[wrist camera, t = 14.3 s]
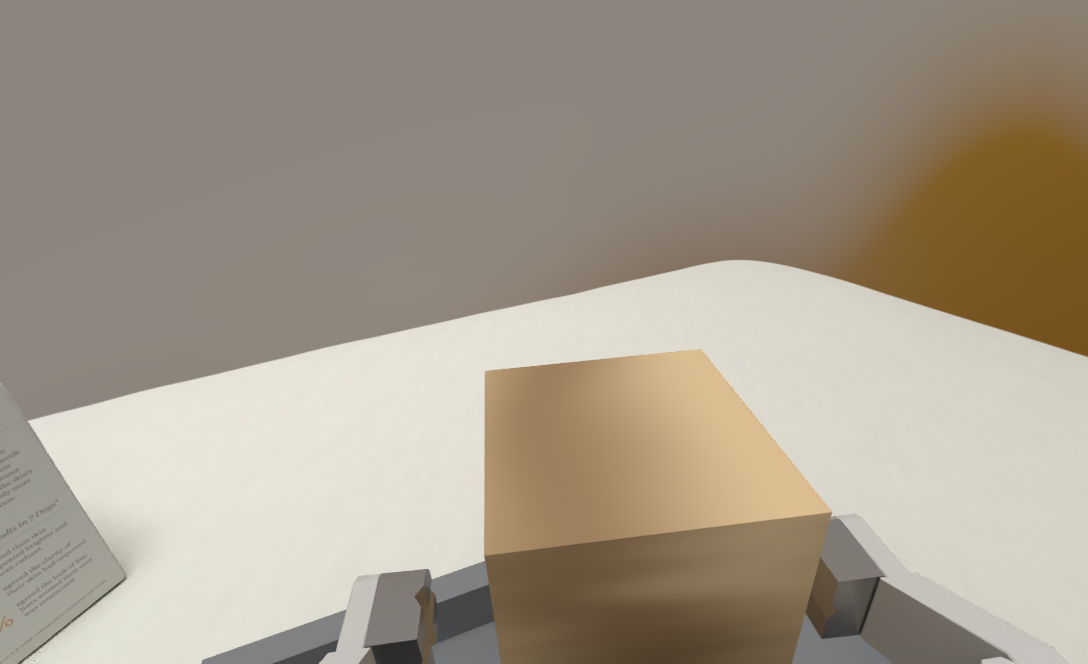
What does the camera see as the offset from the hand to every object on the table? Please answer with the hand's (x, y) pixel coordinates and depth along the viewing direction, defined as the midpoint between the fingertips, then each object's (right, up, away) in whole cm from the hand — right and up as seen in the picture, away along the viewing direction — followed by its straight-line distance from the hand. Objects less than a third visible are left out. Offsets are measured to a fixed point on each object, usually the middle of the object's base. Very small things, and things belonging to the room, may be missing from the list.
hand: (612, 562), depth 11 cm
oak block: (+1, -7, +3) cm, 8 cm away
